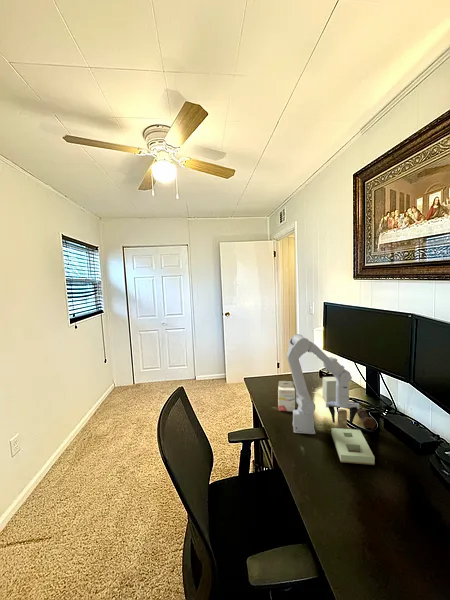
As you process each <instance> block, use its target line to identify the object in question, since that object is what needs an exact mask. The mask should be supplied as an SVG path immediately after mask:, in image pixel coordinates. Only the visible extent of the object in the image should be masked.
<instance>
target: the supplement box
mask: <svg viewBox="0 0 450 600" xmlns="http://www.w3.org/2000/svg"><path fill="white" fill-rule="evenodd" d="M336 379H337V378H336V377H334V376H322V399H323V400H324V402H325V403H326V402H332V401H336Z"/></svg>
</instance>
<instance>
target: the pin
mask: <svg viewBox="0 0 450 600" xmlns="http://www.w3.org/2000/svg"><path fill="white" fill-rule="evenodd" d="M337 428H339V429H348V411H347V410H346V409H345V408H339V409H337Z"/></svg>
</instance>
